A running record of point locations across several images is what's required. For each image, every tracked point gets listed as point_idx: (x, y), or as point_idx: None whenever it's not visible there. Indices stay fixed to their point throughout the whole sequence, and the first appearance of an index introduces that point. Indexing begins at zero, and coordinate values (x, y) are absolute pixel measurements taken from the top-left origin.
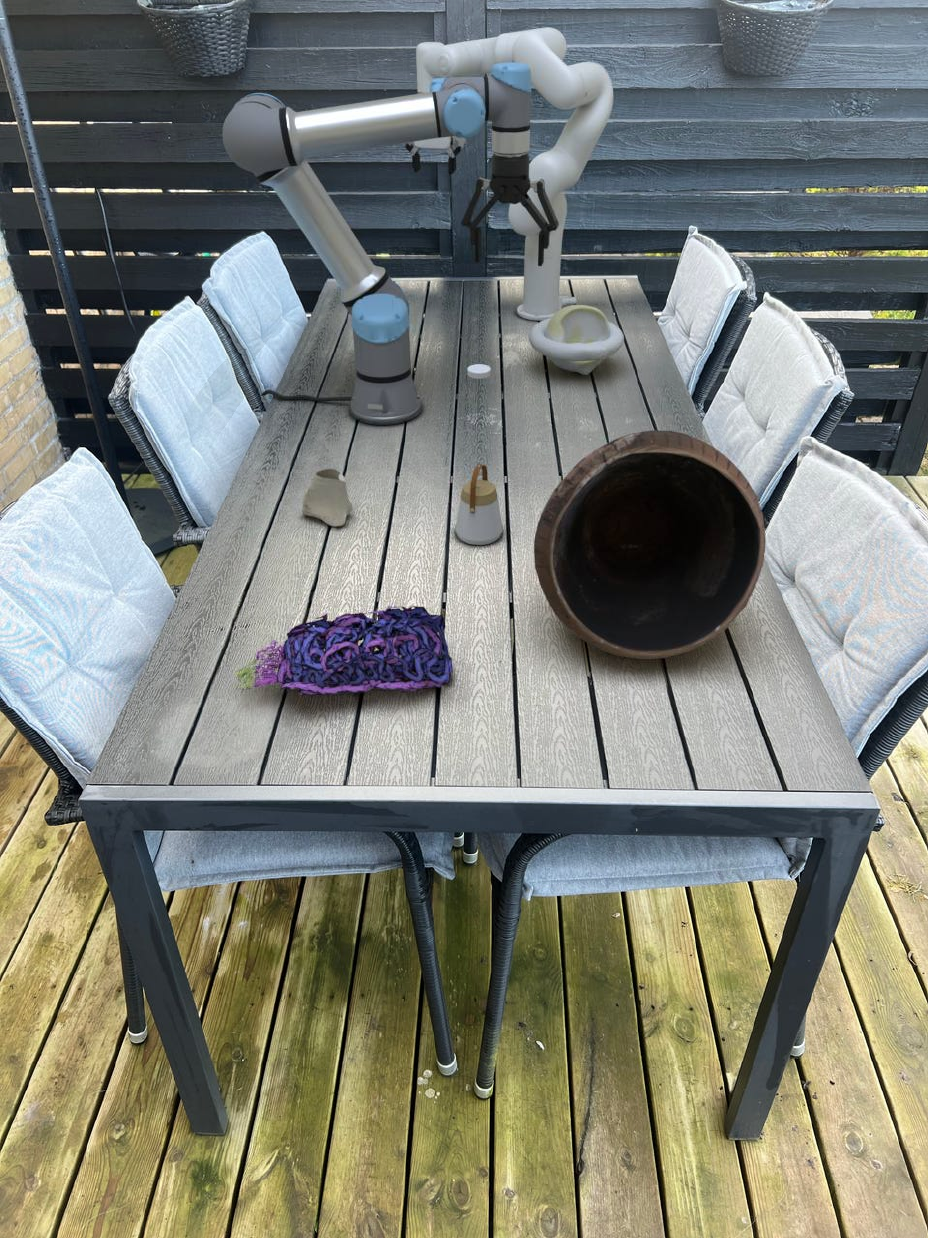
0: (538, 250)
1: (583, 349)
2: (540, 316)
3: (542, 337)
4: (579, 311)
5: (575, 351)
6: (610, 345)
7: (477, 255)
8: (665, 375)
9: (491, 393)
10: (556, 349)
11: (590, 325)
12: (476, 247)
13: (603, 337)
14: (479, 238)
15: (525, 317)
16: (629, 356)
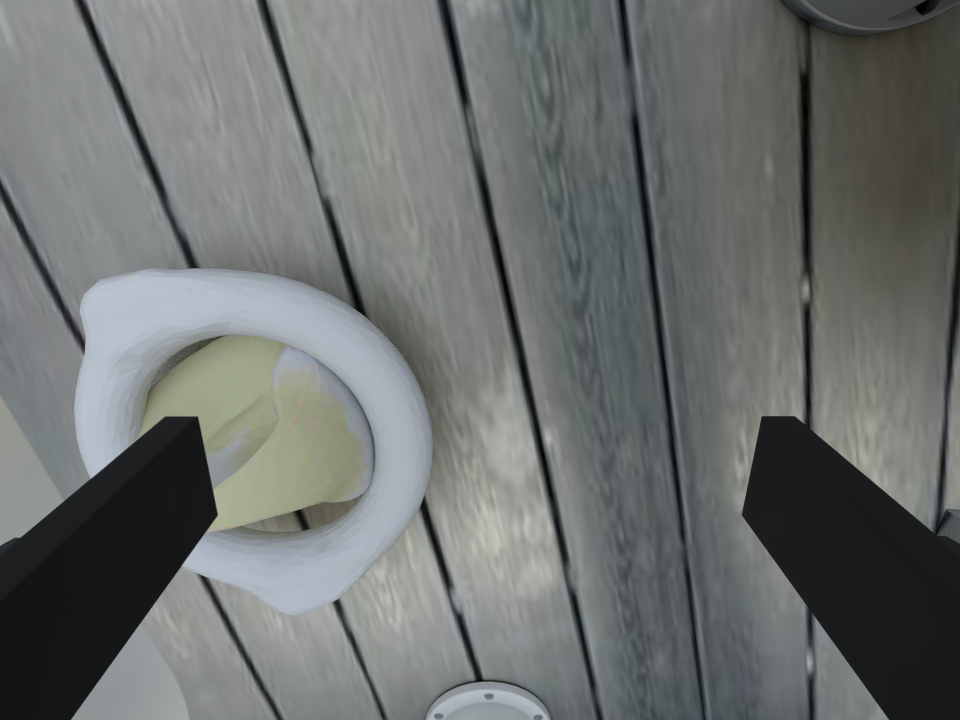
0: (108, 495)
1: (157, 276)
2: (477, 694)
3: (353, 360)
4: None
5: (196, 273)
6: (85, 357)
7: (806, 446)
8: (27, 408)
9: (514, 148)
10: (279, 285)
11: None
12: (869, 494)
13: None
14: (892, 607)
15: (519, 689)
16: None
